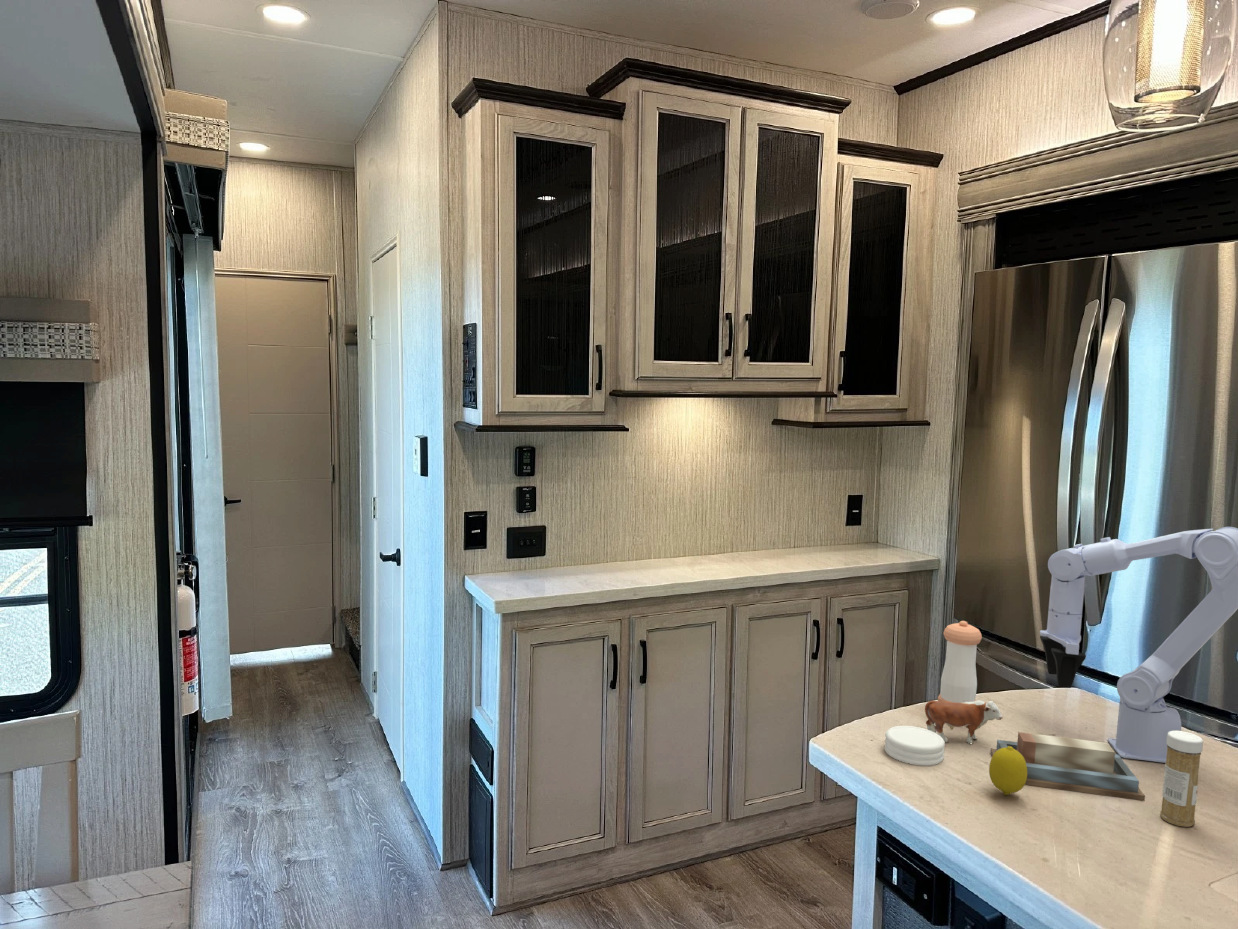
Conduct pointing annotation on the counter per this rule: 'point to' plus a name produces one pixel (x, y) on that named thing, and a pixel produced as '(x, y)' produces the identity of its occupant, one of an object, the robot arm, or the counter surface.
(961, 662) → the pepper shaker
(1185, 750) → the spice jar
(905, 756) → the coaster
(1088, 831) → the counter surface
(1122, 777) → the tray
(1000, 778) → the lemon
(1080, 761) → the two-tone wooden block
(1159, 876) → the counter surface
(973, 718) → the bull figurine
